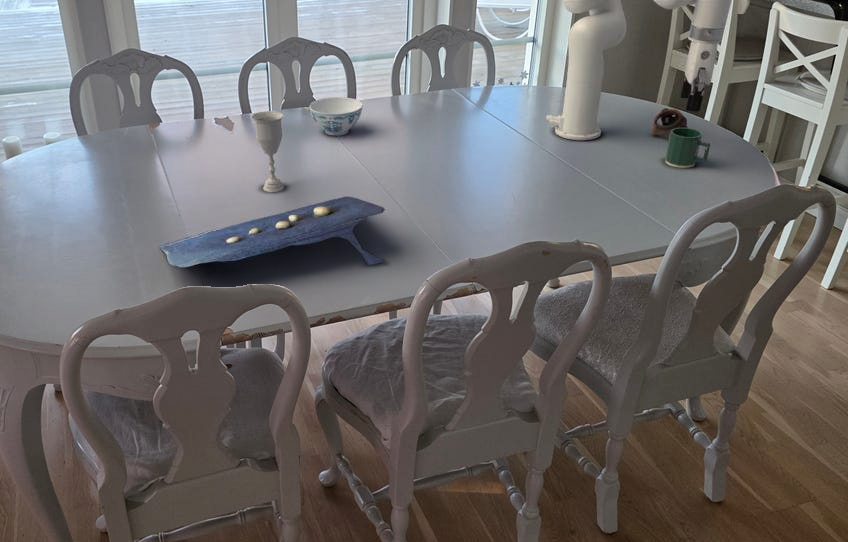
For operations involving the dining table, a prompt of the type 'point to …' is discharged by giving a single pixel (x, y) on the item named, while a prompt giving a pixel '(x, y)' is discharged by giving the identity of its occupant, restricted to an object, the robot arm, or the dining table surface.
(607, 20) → the robot arm
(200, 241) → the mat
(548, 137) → the dining table surface
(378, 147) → the dining table surface
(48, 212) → the dining table surface
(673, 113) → the broken pottery
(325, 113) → the chinaware
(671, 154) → the green mug
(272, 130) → the chalice
